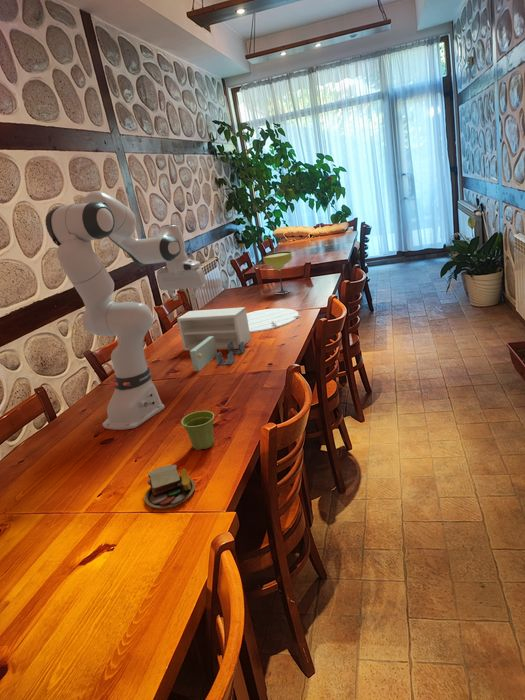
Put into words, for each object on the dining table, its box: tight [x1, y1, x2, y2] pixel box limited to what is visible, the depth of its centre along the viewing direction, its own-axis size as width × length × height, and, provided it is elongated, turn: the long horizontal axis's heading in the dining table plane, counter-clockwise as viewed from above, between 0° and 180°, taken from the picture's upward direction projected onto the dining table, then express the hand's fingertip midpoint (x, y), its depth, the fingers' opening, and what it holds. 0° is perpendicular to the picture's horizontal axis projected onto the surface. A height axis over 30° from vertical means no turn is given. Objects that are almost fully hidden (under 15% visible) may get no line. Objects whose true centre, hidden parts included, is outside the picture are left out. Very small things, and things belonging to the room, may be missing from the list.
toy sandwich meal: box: [144, 464, 196, 510], centre depth 116 cm, size 12×14×5 cm
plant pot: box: [180, 410, 215, 451], centre depth 135 cm, size 9×9×9 cm
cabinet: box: [176, 306, 252, 351], centre depth 221 cm, size 12×30×16 cm, turn 69°
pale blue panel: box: [189, 336, 218, 372], centre depth 201 cm, size 18×4×9 cm, turn 159°
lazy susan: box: [246, 307, 301, 333], centre depth 251 cm, size 40×39×3 cm
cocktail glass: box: [262, 251, 293, 293], centre depth 302 cm, size 18×18×25 cm
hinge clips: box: [215, 342, 246, 366], centre depth 202 cm, size 16×6×4 cm, turn 159°
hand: (185, 299), depth 192 cm, fingers open, 8 cm apart
